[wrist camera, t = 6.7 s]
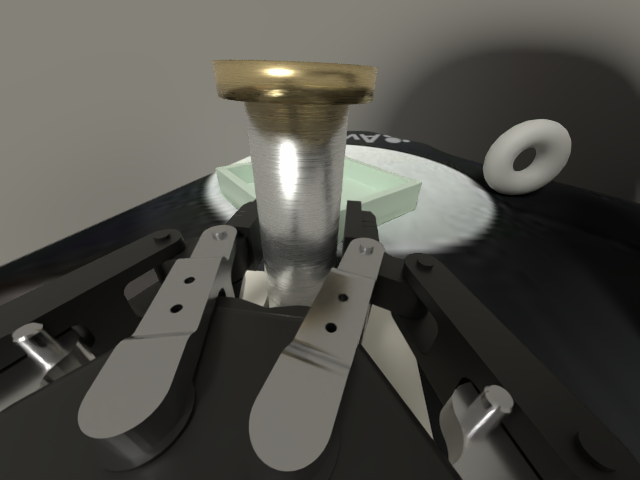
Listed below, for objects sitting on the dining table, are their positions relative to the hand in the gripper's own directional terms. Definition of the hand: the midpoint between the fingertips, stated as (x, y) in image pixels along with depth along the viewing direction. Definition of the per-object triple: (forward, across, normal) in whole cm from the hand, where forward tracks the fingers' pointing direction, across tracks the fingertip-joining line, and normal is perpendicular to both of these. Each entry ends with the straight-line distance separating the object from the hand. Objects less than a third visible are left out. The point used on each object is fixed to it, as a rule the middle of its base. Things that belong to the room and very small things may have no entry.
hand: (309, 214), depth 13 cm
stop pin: (-3, 0, +8) cm, 8 cm away
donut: (+26, -26, +8) cm, 37 cm away
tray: (+18, +2, +8) cm, 19 cm away
